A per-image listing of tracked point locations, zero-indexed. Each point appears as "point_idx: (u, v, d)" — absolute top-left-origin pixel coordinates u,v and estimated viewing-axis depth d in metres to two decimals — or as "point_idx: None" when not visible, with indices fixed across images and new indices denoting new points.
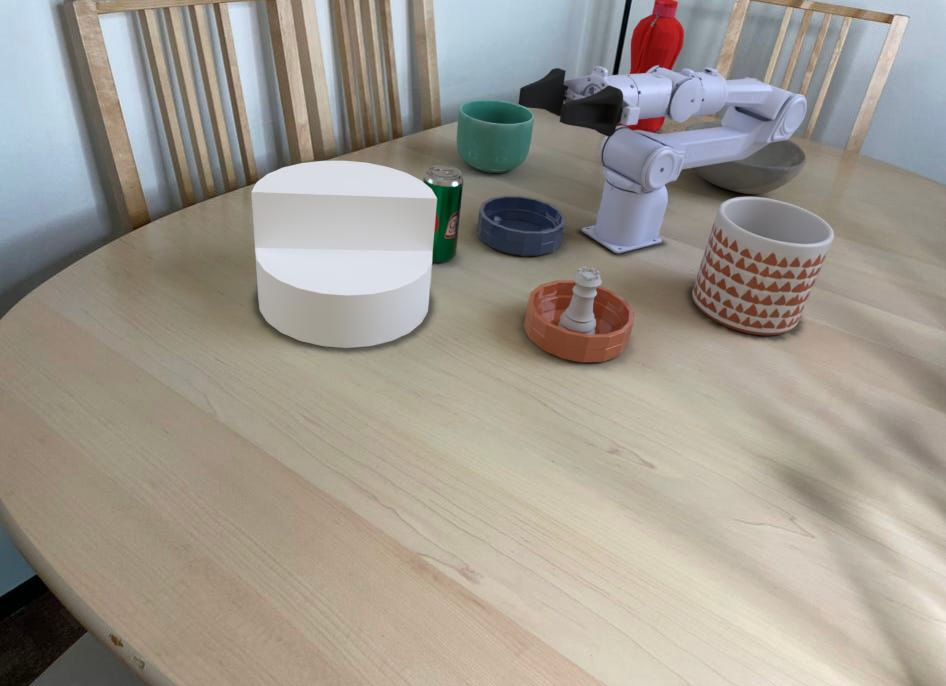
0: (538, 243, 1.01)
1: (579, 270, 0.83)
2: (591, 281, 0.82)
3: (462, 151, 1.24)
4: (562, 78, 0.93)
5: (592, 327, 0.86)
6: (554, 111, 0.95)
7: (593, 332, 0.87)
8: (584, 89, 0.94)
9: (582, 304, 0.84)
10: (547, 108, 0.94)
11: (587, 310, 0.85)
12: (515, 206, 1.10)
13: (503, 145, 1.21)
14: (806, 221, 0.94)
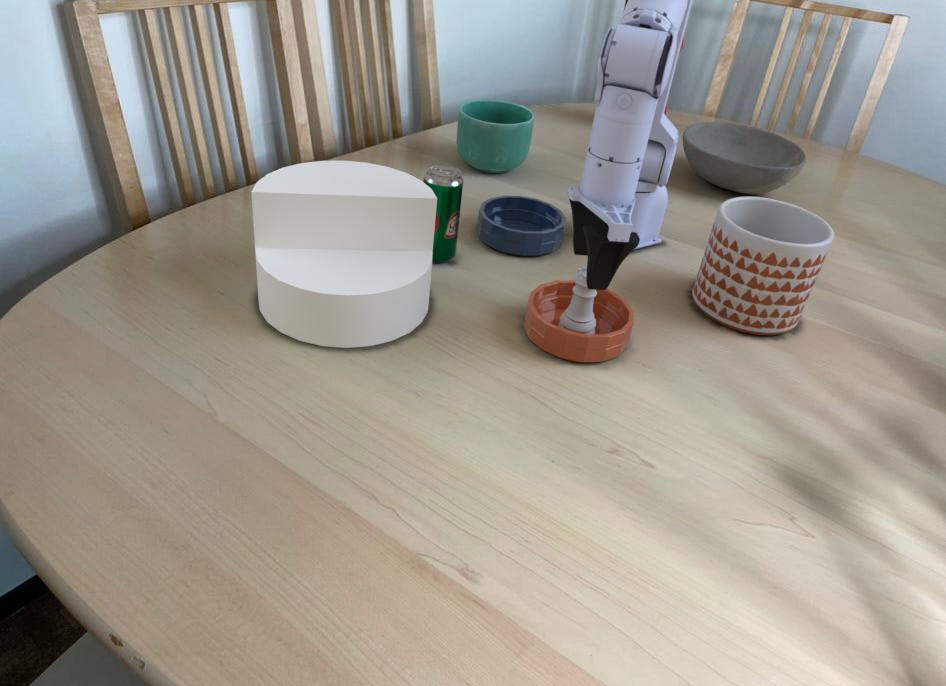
0: (538, 243, 1.01)
1: (579, 270, 0.83)
2: None
3: (462, 151, 1.24)
4: (576, 203, 0.82)
5: (592, 327, 0.86)
6: None
7: (593, 332, 0.87)
8: None
9: (582, 304, 0.84)
10: None
11: (587, 310, 0.85)
12: (515, 206, 1.10)
13: (503, 145, 1.21)
14: (806, 221, 0.94)
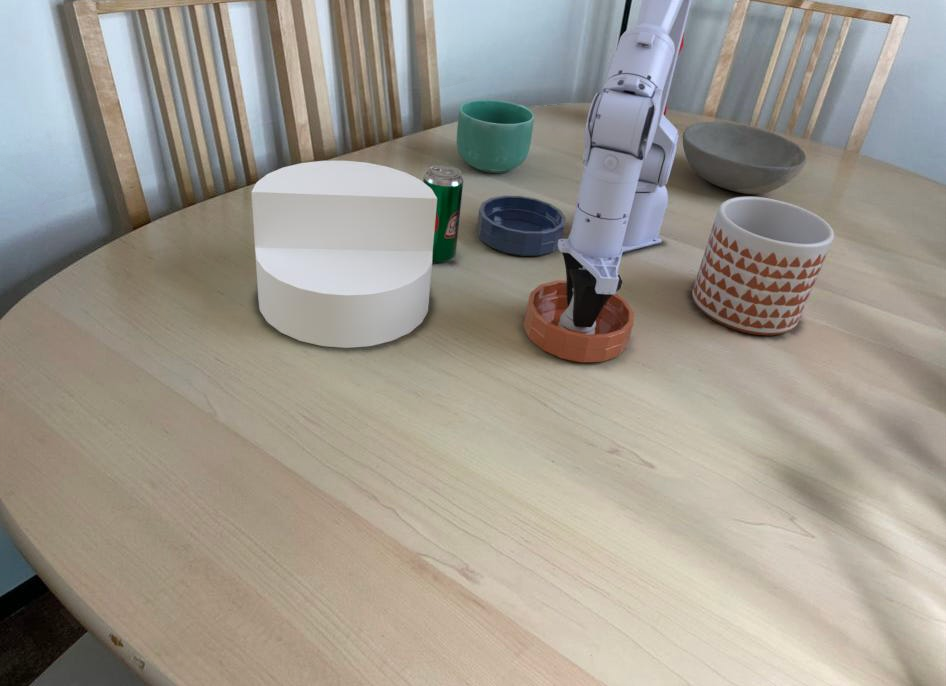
0: (538, 243, 1.01)
1: None
2: None
3: (462, 151, 1.24)
4: (569, 259, 0.84)
5: (592, 327, 0.86)
6: None
7: (593, 332, 0.87)
8: None
9: None
10: None
11: None
12: (515, 206, 1.10)
13: (503, 145, 1.21)
14: (806, 221, 0.94)
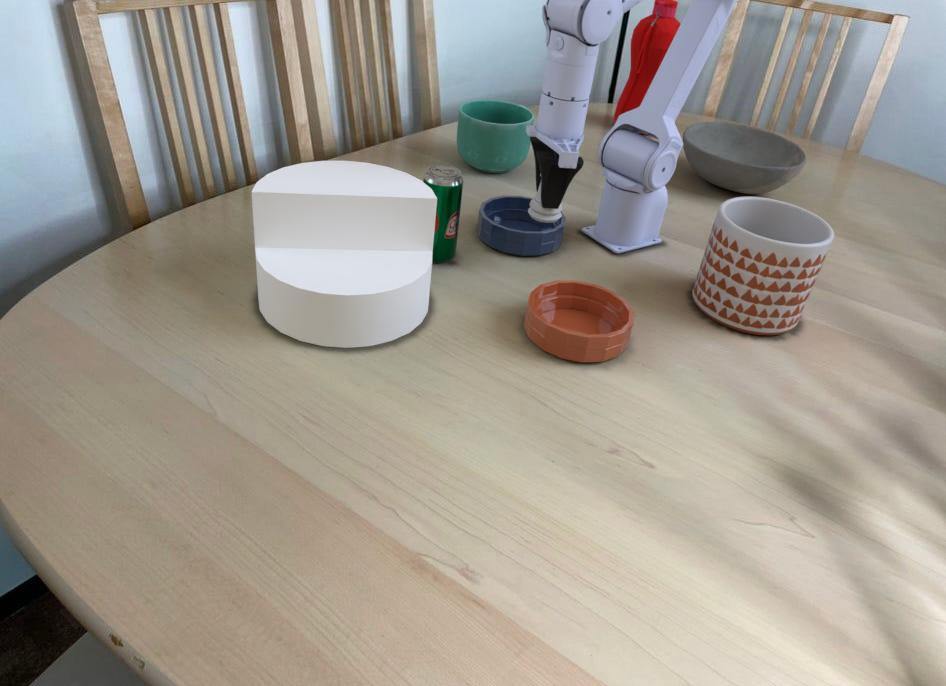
0: (538, 243, 1.01)
1: None
2: None
3: (462, 151, 1.24)
4: (537, 147, 0.93)
5: (558, 210, 0.95)
6: None
7: (560, 216, 0.96)
8: None
9: None
10: None
11: None
12: (515, 206, 1.10)
13: (503, 145, 1.21)
14: (806, 221, 0.94)
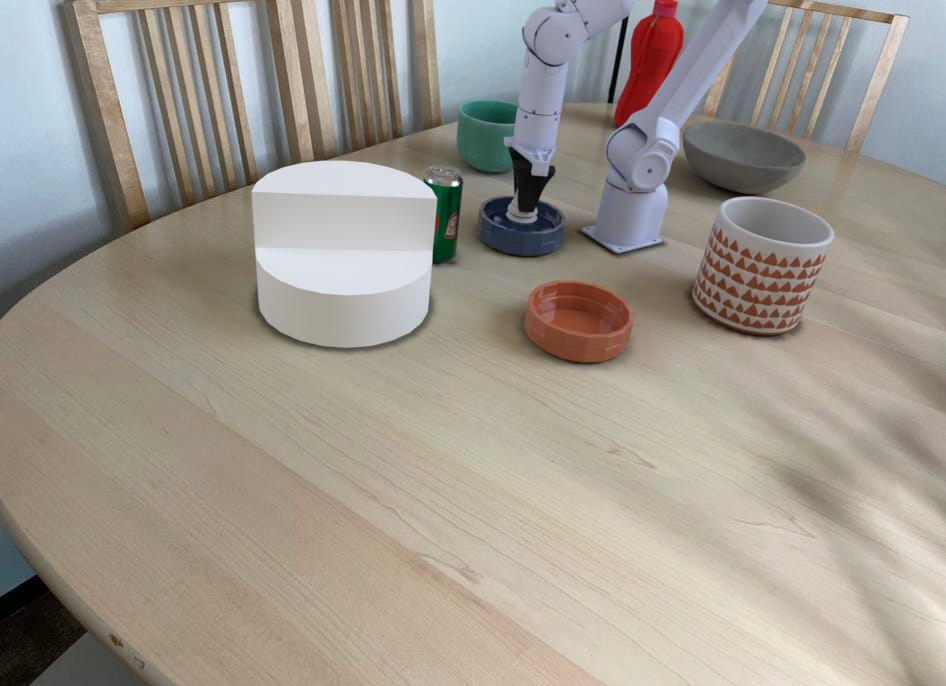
0: (538, 243, 1.01)
1: None
2: None
3: (462, 151, 1.24)
4: (514, 156, 1.02)
5: (533, 213, 1.04)
6: None
7: (535, 219, 1.05)
8: None
9: None
10: None
11: None
12: None
13: (503, 145, 1.21)
14: (806, 221, 0.94)
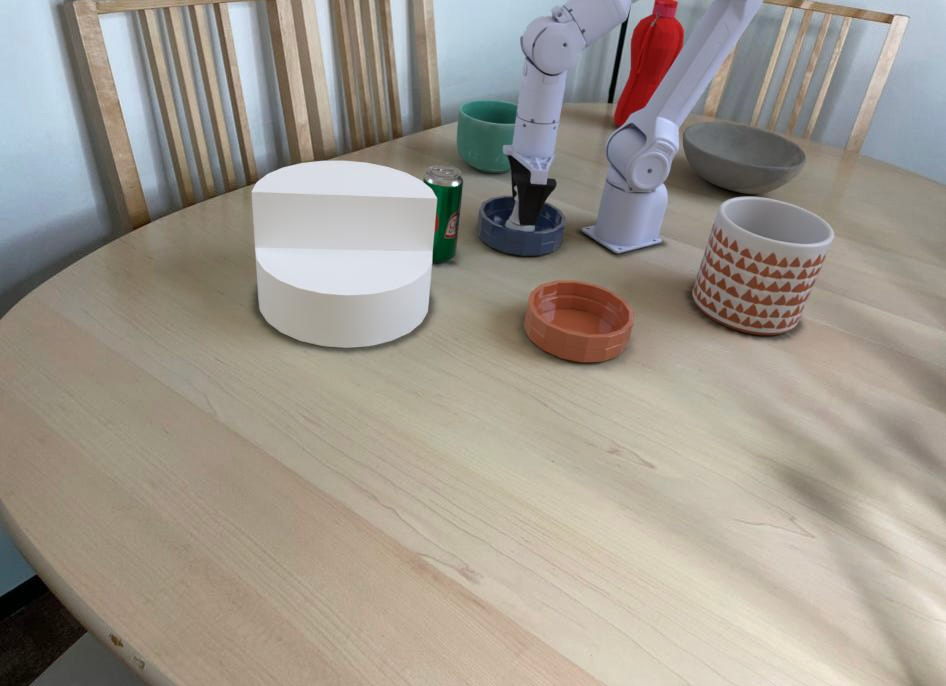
0: (538, 243, 1.01)
1: None
2: None
3: (462, 151, 1.24)
4: (512, 159, 1.04)
5: (531, 230, 1.05)
6: None
7: None
8: None
9: None
10: None
11: None
12: None
13: (503, 145, 1.21)
14: (806, 221, 0.94)
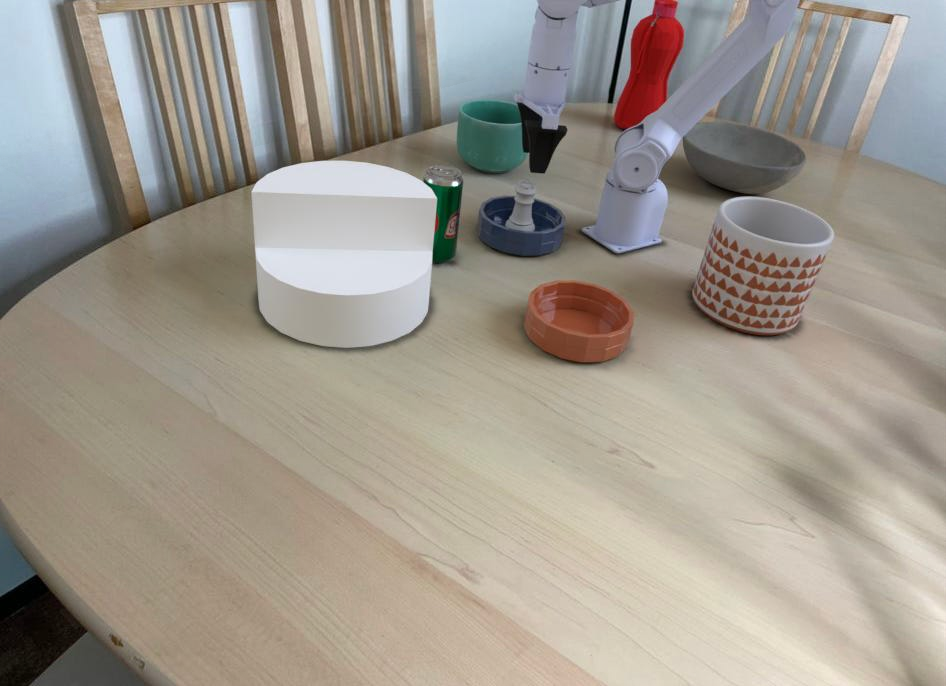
0: (538, 243, 1.01)
1: (519, 181, 1.03)
2: (528, 189, 1.02)
3: (462, 151, 1.24)
4: (523, 109, 1.06)
5: (531, 230, 1.05)
6: None
7: None
8: None
9: (522, 210, 1.04)
10: None
11: (526, 215, 1.04)
12: None
13: (503, 145, 1.21)
14: (806, 221, 0.94)
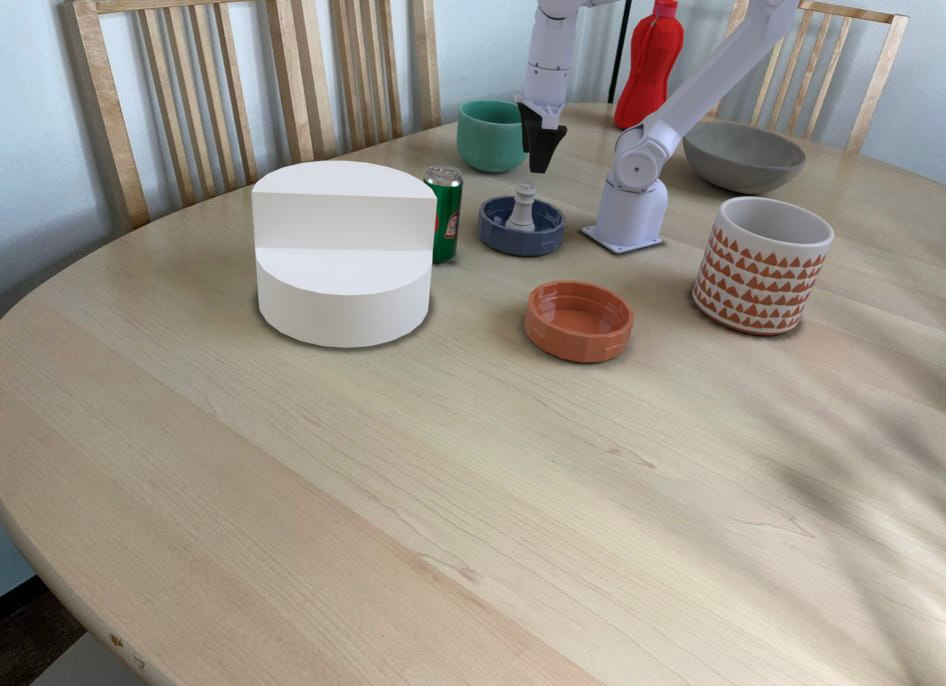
0: (538, 243, 1.01)
1: (519, 181, 1.03)
2: (528, 189, 1.02)
3: (462, 151, 1.24)
4: (523, 109, 1.06)
5: (531, 230, 1.05)
6: None
7: None
8: None
9: (522, 210, 1.04)
10: None
11: (526, 215, 1.04)
12: None
13: (503, 145, 1.21)
14: (806, 221, 0.94)
